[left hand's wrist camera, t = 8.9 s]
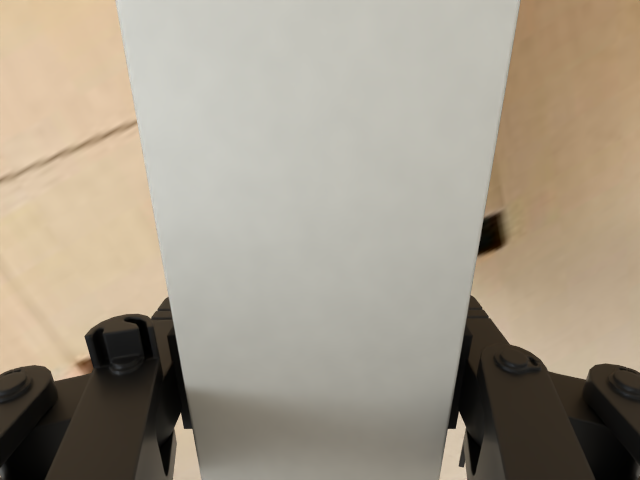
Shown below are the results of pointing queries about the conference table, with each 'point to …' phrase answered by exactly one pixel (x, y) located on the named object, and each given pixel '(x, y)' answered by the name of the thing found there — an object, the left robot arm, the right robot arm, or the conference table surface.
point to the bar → (319, 219)
